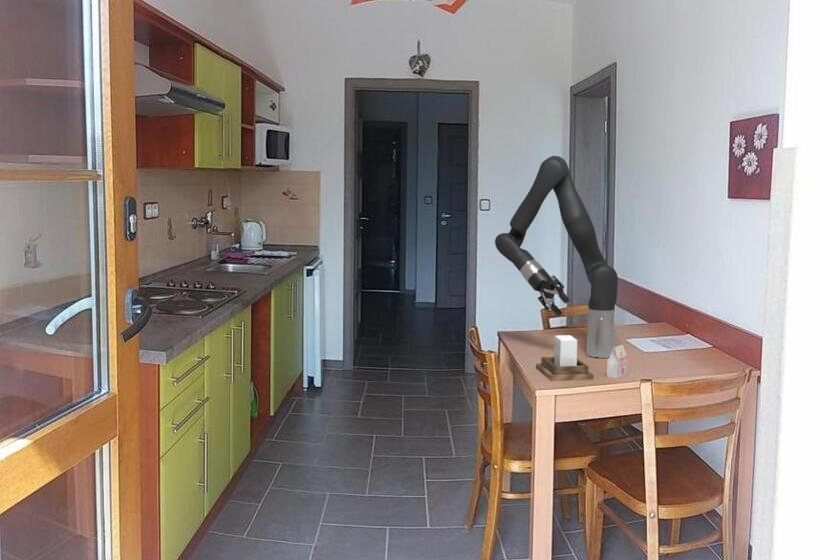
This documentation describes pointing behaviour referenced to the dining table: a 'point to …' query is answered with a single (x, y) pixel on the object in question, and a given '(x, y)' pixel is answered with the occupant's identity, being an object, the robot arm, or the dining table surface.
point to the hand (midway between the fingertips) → (563, 308)
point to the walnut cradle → (563, 370)
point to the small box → (565, 350)
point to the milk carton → (617, 362)
